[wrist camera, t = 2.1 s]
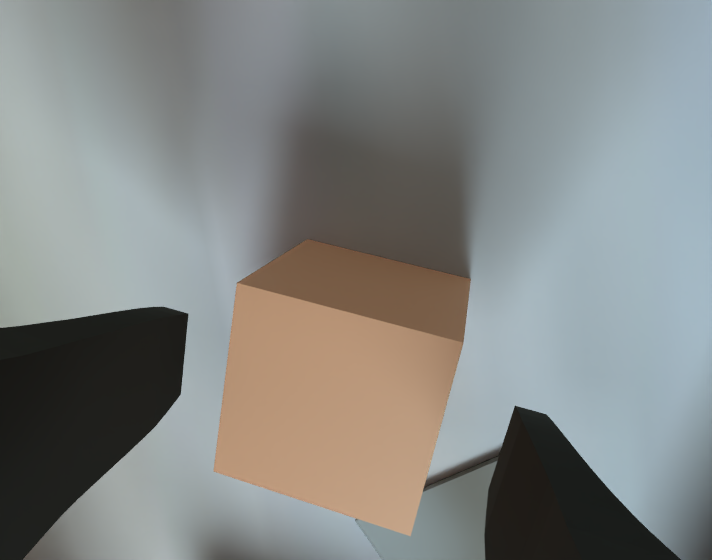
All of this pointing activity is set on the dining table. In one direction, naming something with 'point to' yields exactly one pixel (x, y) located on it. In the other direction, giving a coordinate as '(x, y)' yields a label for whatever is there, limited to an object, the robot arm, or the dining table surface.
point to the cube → (340, 379)
